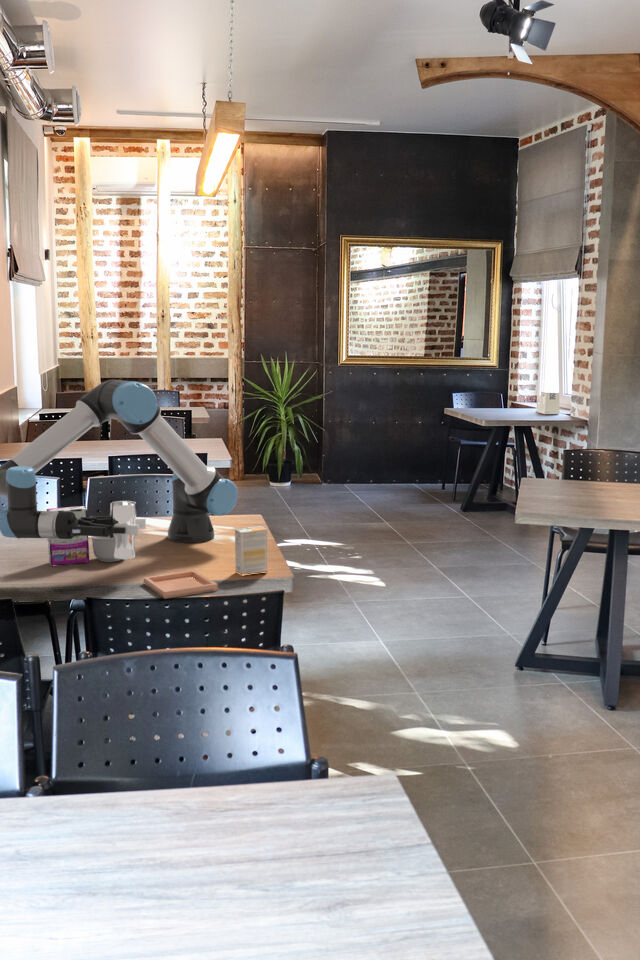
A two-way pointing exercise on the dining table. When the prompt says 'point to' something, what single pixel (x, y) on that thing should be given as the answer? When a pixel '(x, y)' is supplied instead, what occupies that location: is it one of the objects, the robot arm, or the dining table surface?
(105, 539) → the teacup
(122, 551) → the steel tumbler
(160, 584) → the tray
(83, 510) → the candy bar box
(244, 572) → the supplement box
